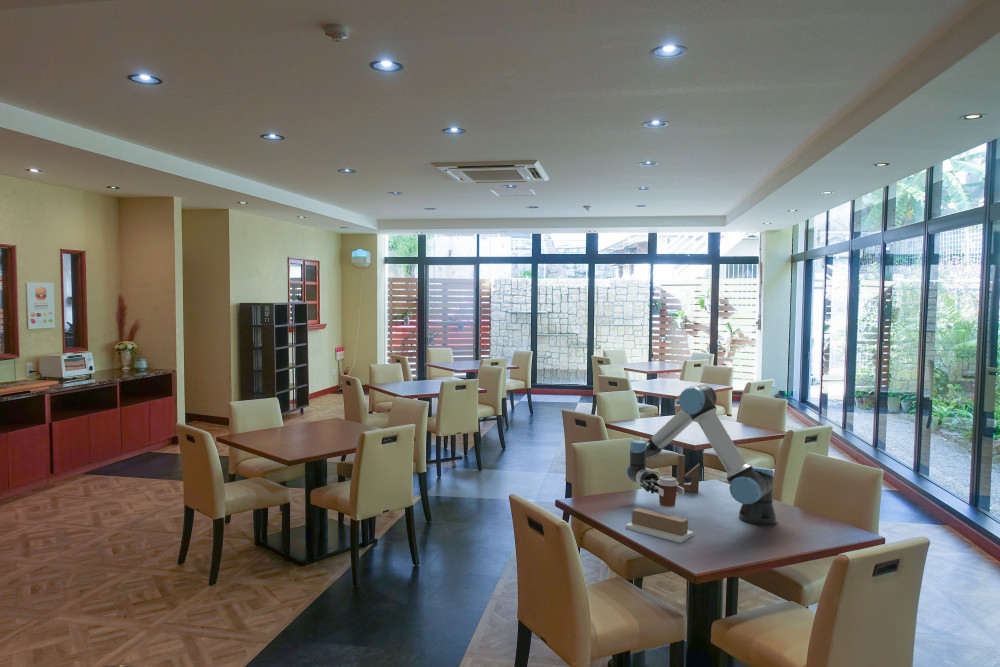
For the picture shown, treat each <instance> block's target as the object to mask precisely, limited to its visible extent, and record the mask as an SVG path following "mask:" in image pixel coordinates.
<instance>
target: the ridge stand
mask: <svg viewBox="0 0 1000 667" xmlns="http://www.w3.org/2000/svg"><path fill="white" fill-rule="evenodd" d="M631 512H632V513H631V522H627V523H626V524H625V526H624V527H625V528H624V529H627V530H630V531H634V532H638V533H643V534H645V535H650V536H652V537H656V538H661V539H665V540H668V541H671V542H677V543H679V544H680V543H682V542H685V541H686V540H688V539H689V538H691V537H693V536H694V531H692V530H689V529H688V527H689V524H688V523H689V519H688V518H683V517H680V516H675V515H672V514H666V513H662V512H659V511H658V512H657V511H654V510H651V509H646V508H641V507H636V508H633V509H632V510H631Z"/></svg>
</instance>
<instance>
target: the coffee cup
mask: <svg viewBox="0 0 1000 667" xmlns="http://www.w3.org/2000/svg"><path fill="white" fill-rule="evenodd" d="M658 478H659V480H658V481H657V484H658V485H659V488H661V489H663V490H664V496H661V495H659V494H658V498H659V500H658V501H659V502H658V503H659V506H660V507H661V508H666V509H673V508H675V507H676V500H677V493H678V492H677V486H678V485H679V483H678V482H677V477H673V476H669V475H667V476H666V475H665V476H662V475H661V476H660V477H658Z"/></svg>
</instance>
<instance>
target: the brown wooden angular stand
mask: <svg viewBox="0 0 1000 667" xmlns="http://www.w3.org/2000/svg"><path fill="white" fill-rule="evenodd" d="M676 464H677V467H676V468H677V469H676V481H677V482H678V483H679V484H681V487H682V488H684V492H688V493H695V494H696V493H699V490H700V489H699V487H700V486H699V485H700V463H697V464H695V466H694V467H692V469H690V470H689V471H688V472H686V473H685V468H686V455H685V454H678V455H677V463H676ZM685 478H688V479H690V483H688V482H685Z"/></svg>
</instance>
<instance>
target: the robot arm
mask: <svg viewBox="0 0 1000 667" xmlns="http://www.w3.org/2000/svg"><path fill="white" fill-rule="evenodd" d="M717 397H718V396H717V393H716V391H715V390H714V388H712V387H711V386H710V385H707V384H700V385H695V386H694V385H692V386H689V387H687V388H685V389H684V390H682V392H680V395H679V397H678V404H679V408H680V410H679V411H678V412H677V413H676V414H674V416H673V417H671V418H670V419H669V420H668V421H667V422H666V423H665V424H664V425H663V426H662V427H661V428H659V429H658V431H656V432H655V433H654V435H653V434H652V435H653V436H651V437H650V438H649V439H648V440H647V441H645V440H640V439H637V440H636V439H635V440H634V439H633V440H631V441H630V445H629V446H630V447H629V465H628V466H627V467H626V470H625V474H626V477H627V478H628V479H629V480H630V481H632V482H634V483H637V484H638V485H639V486H640V487H642V488H643V489H644V491H646V492H647V493H648V492H650V494H654V493H655V494H657V495H658V496H659V495H661V496H664V490H663V489H661V488H659V485H658V484H657V481H658V480H659V478H660V477H658V475H657V474H656V473H655V472H653V471H650V470H648V469H647V460H649V459H651V458H656V457H657V456H659V455H660V454H661V453H662V450H663V449H664V448H665V447H667V446H668V445H669V444H670V443H671V442H672V441H673V440H674V439H676V437H678V435H680V434H681V433H682V432H683V431H684V430H685V429H687V427H688V426H690V425H691V424H692V423H693V422H695V423H697V424H698V425H699V427H700V428H701V430H702V432H703V434H704V435H705V437H706V439H707V441H708V442H709V444H710V445H711V447H712V449H713V451H714V452H715V454H716V456H717V458H718V460H719V461H720V463H721V465H722V466H723V468H724V470H725V471H726V473H727V474H726V477H725V478H726V481H727V482H728V483H729V493H730V494H731V495H730V496H731V497H732V498H733V499H734V500H735V501H736V502H738V503H740V504H741V507H740V509H739V512H738V518H739V519H740V520H741V521H743V522H746V523H748V524H749V523H750V524H755V525H760V526H761V525H764V526H769V525H774V524H776V523H777V515H776V510H775V508H774V505H773V504H774V503H773V502H774V501H773V500H774V499H773V498H774V482H775V481H774V479H775V473H774V470H773V469H771V468H769V467H763V466H756V465H750V464H747V463H746V461H745V460H744V458H743V457H742V455H741V453H740V452H739V450H738V448H737V447H736V445H735V443H734V441H733V440H732V438H731V437H730V435H729V434H728V432H727V430H726V429H725V427H724V425H723V423H722V421H721V419H720V418H719V417H718V415H717V410H718V408H717V406H716V404H717V402H718V401H717V400H718V398H717ZM676 493H678V494H679V495H682V496H683V495H685V491H684V488H682V487H681V484H679V485H678V486H677V492H676Z"/></svg>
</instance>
